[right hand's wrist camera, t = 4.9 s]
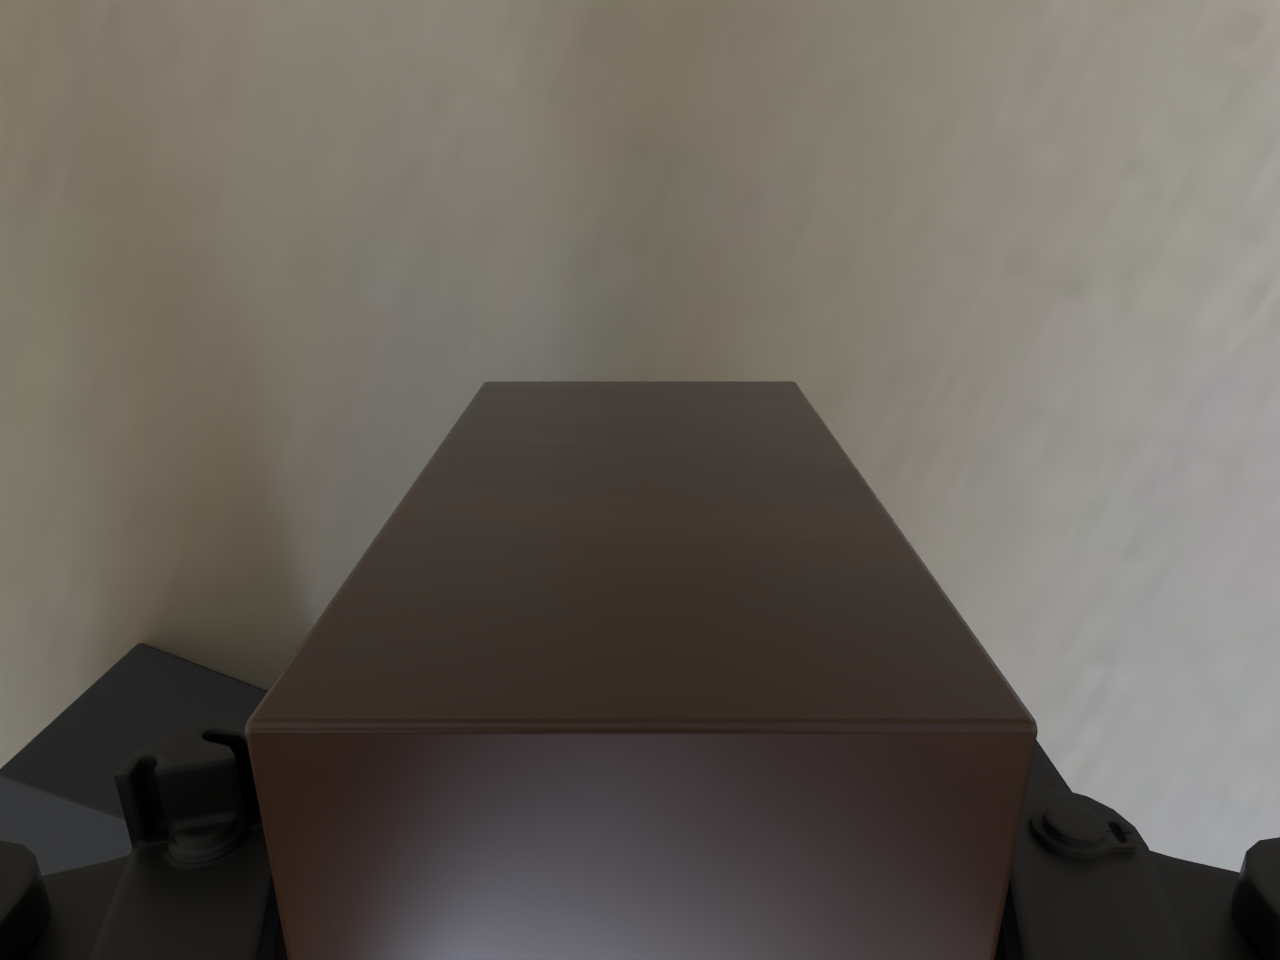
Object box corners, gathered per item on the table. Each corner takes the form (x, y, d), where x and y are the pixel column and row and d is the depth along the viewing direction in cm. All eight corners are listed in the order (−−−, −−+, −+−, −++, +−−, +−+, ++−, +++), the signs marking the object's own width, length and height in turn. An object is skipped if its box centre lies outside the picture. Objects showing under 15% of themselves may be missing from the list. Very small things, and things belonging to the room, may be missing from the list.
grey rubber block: (138, 641, 21) (-6, 773, 16) (333, 715, 22) (248, 862, 17) (90, 795, 23) (-55, 956, 18) (274, 860, 23) (181, 1031, 19)
